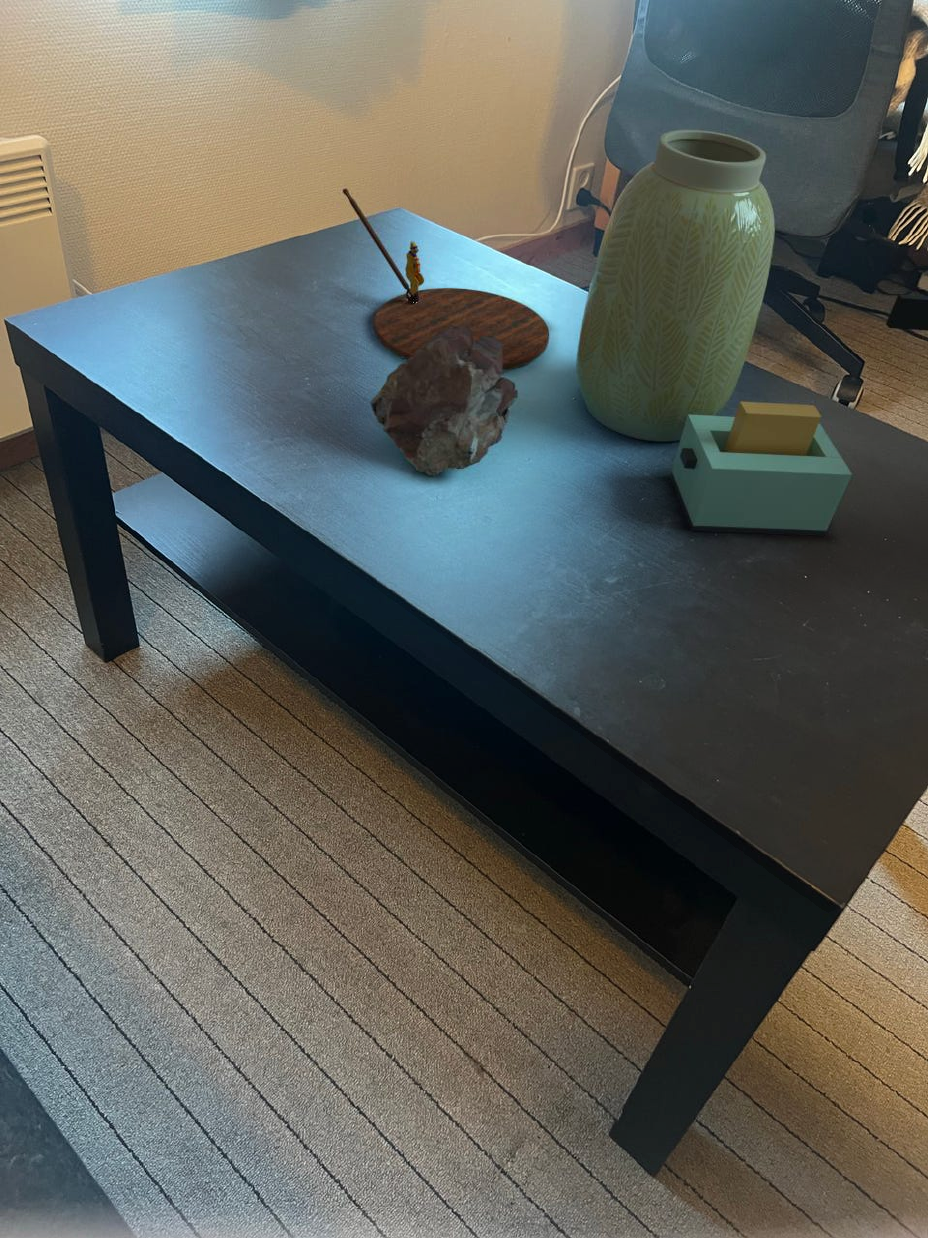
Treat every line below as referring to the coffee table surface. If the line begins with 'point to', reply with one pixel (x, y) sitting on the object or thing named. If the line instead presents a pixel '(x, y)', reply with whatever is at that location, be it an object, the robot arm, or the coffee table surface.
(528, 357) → the incense holder
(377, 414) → the mineral specimen
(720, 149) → the vase
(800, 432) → the toast
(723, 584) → the coffee table surface
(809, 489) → the toaster
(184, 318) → the coffee table surface
